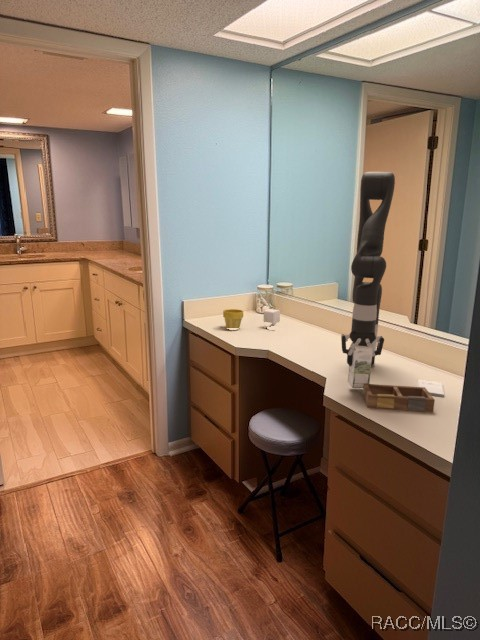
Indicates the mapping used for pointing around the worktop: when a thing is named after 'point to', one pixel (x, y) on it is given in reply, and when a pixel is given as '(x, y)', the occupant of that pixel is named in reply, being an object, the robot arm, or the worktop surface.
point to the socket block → (398, 397)
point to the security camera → (272, 316)
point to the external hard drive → (432, 387)
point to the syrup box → (360, 366)
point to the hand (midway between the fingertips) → (359, 365)
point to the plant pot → (233, 317)
